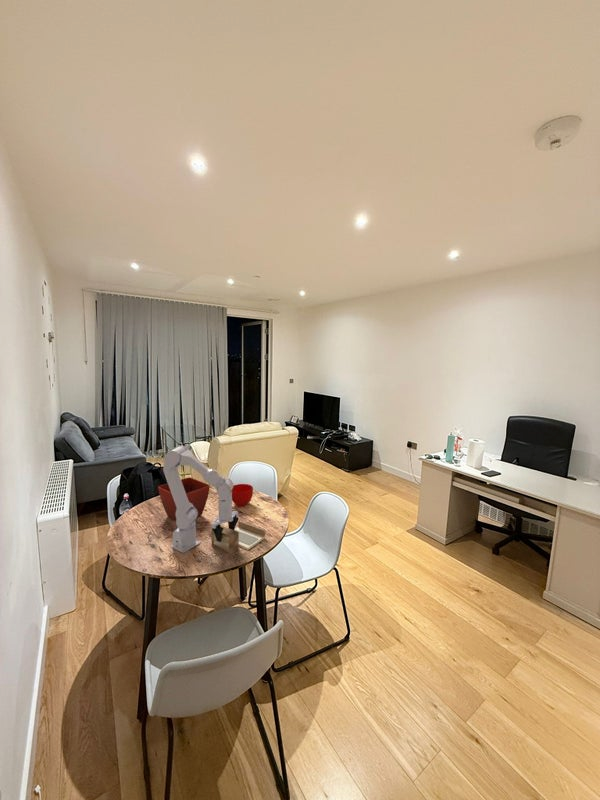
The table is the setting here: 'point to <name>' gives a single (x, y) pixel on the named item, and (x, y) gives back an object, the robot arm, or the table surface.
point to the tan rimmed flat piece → (249, 535)
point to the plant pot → (194, 492)
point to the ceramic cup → (242, 494)
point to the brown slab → (227, 540)
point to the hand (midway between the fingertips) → (225, 537)
